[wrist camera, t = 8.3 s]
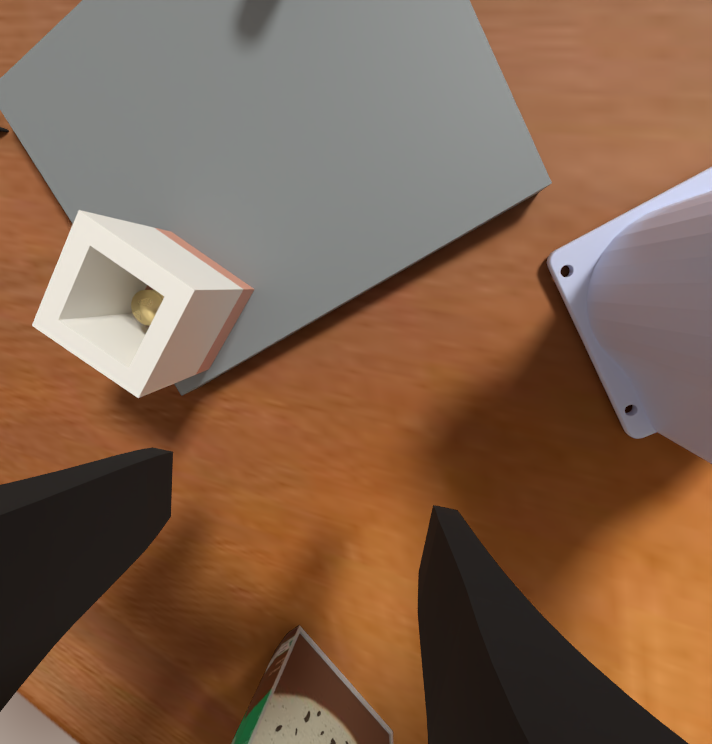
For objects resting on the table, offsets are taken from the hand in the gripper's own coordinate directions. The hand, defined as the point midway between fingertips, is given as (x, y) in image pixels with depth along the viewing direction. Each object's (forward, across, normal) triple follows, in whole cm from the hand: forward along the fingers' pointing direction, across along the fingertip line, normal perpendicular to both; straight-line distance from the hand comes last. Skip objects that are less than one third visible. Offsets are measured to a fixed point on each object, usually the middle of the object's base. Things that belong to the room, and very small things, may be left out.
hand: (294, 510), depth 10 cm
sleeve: (+8, +8, -4) cm, 12 cm away
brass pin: (+8, +8, -4) cm, 12 cm away
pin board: (+10, +6, -11) cm, 16 cm away
